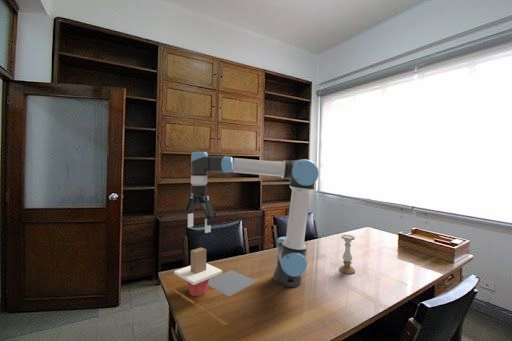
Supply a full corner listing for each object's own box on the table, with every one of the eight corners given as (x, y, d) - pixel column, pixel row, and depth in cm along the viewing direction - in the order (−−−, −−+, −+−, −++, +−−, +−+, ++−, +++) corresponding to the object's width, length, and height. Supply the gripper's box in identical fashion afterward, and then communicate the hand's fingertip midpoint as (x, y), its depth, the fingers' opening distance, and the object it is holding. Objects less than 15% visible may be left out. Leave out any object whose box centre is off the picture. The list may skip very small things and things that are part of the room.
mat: (257, 282, 128) (257, 281, 128) (228, 298, 113) (229, 296, 113) (231, 271, 141) (231, 269, 141) (202, 283, 126) (202, 282, 126)
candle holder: (356, 274, 139) (357, 239, 138) (340, 273, 141) (341, 238, 140) (353, 268, 148) (354, 235, 147) (338, 267, 149) (339, 233, 149)
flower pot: (204, 300, 111) (204, 279, 111) (182, 297, 113) (182, 277, 113) (213, 289, 121) (213, 269, 121) (192, 286, 123) (192, 267, 123)
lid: (222, 272, 118) (222, 249, 117) (193, 285, 106) (194, 259, 105) (202, 263, 128) (202, 242, 128) (174, 273, 116) (174, 250, 116)
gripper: (222, 186, 110) (222, 233, 111) (190, 182, 127) (190, 223, 127) (209, 187, 104) (208, 236, 105) (177, 183, 121) (177, 226, 122)
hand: (198, 229), depth 116 cm, fingers open, 13 cm apart
